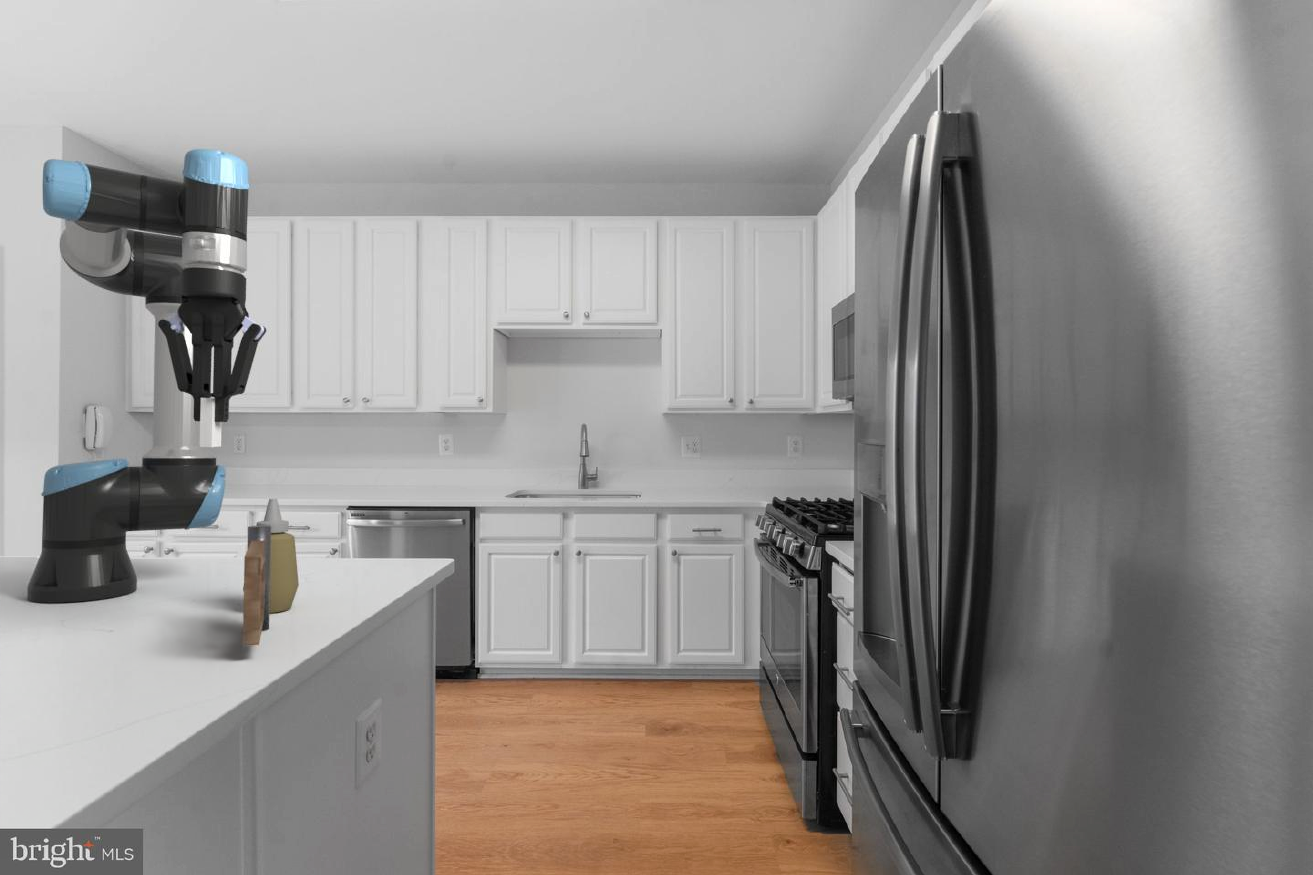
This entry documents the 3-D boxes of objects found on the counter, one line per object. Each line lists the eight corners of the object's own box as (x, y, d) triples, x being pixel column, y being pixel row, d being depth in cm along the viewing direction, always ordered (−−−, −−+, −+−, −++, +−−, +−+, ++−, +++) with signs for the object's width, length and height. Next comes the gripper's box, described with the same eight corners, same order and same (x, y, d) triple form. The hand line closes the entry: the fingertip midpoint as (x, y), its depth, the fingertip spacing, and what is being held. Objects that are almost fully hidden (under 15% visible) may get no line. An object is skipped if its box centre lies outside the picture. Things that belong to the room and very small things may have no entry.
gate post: (244, 628, 109) (246, 526, 109) (266, 625, 111) (268, 524, 111) (247, 632, 107) (249, 528, 107) (271, 629, 108) (273, 527, 109)
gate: (242, 646, 93) (244, 556, 93) (250, 619, 107) (251, 541, 107) (259, 644, 94) (260, 556, 94) (264, 618, 107) (265, 540, 107)
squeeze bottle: (275, 617, 116) (277, 502, 116) (230, 614, 118) (232, 500, 118) (309, 606, 124) (311, 498, 124) (267, 603, 125) (269, 496, 126)
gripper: (146, 262, 95) (142, 446, 96) (253, 267, 97) (249, 448, 97) (177, 274, 103) (173, 444, 103) (276, 279, 104) (272, 447, 105)
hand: (210, 446), depth 100 cm, fingers closed
